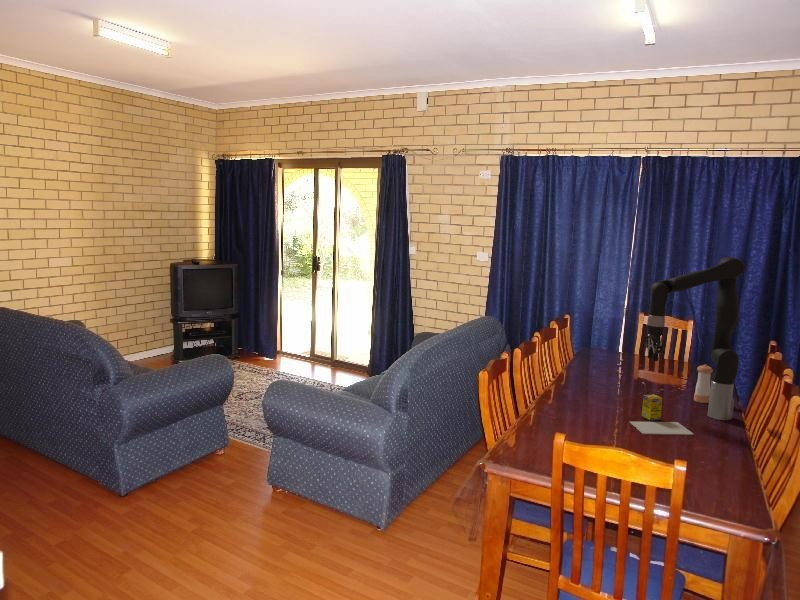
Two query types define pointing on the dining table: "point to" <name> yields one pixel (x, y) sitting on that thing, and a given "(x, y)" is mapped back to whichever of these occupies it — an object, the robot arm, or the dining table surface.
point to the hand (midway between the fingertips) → (652, 359)
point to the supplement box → (652, 407)
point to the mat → (661, 428)
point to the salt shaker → (703, 384)
